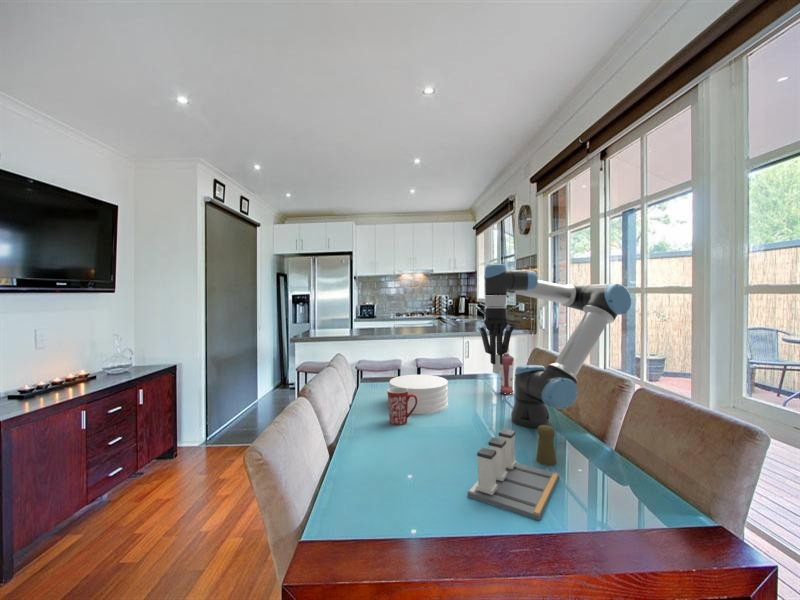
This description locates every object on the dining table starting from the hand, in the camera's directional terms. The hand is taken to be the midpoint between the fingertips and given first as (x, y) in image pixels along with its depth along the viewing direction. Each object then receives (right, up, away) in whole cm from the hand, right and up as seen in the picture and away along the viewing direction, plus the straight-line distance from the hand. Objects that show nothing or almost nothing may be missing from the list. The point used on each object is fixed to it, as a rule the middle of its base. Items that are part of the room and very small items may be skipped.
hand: (496, 372), depth 128 cm
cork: (+11, -25, -16) cm, 32 cm away
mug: (-34, -25, +20) cm, 46 cm away
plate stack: (-26, -25, +44) cm, 56 cm away
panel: (-3, -25, -31) cm, 40 cm away
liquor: (+22, -24, +60) cm, 68 cm away
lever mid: (-7, -23, -28) cm, 37 cm away
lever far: (-12, -23, -35) cm, 43 cm away
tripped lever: (-3, -23, -21) cm, 32 cm away
